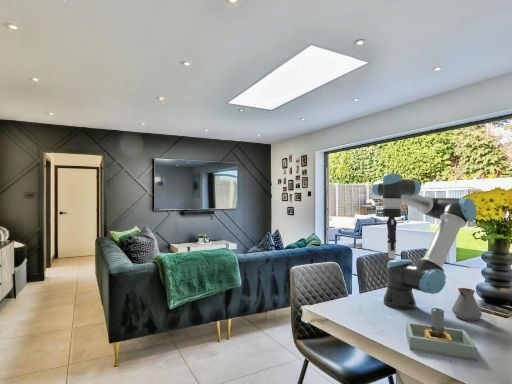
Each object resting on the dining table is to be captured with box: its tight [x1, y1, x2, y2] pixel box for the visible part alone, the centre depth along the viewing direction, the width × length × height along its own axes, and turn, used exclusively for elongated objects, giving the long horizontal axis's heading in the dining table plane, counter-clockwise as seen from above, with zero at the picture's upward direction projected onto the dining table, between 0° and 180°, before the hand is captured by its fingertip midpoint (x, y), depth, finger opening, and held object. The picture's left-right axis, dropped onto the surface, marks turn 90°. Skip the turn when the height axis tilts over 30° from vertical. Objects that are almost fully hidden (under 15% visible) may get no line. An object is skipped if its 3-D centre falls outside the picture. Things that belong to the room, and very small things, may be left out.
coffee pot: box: [451, 287, 483, 322], centre depth 139 cm, size 21×12×15 cm, turn 138°
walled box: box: [405, 321, 478, 362], centre depth 113 cm, size 15×20×4 cm
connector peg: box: [430, 307, 445, 339], centre depth 113 cm, size 4×4×12 cm
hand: (391, 255), depth 138 cm, fingers open, 13 cm apart
